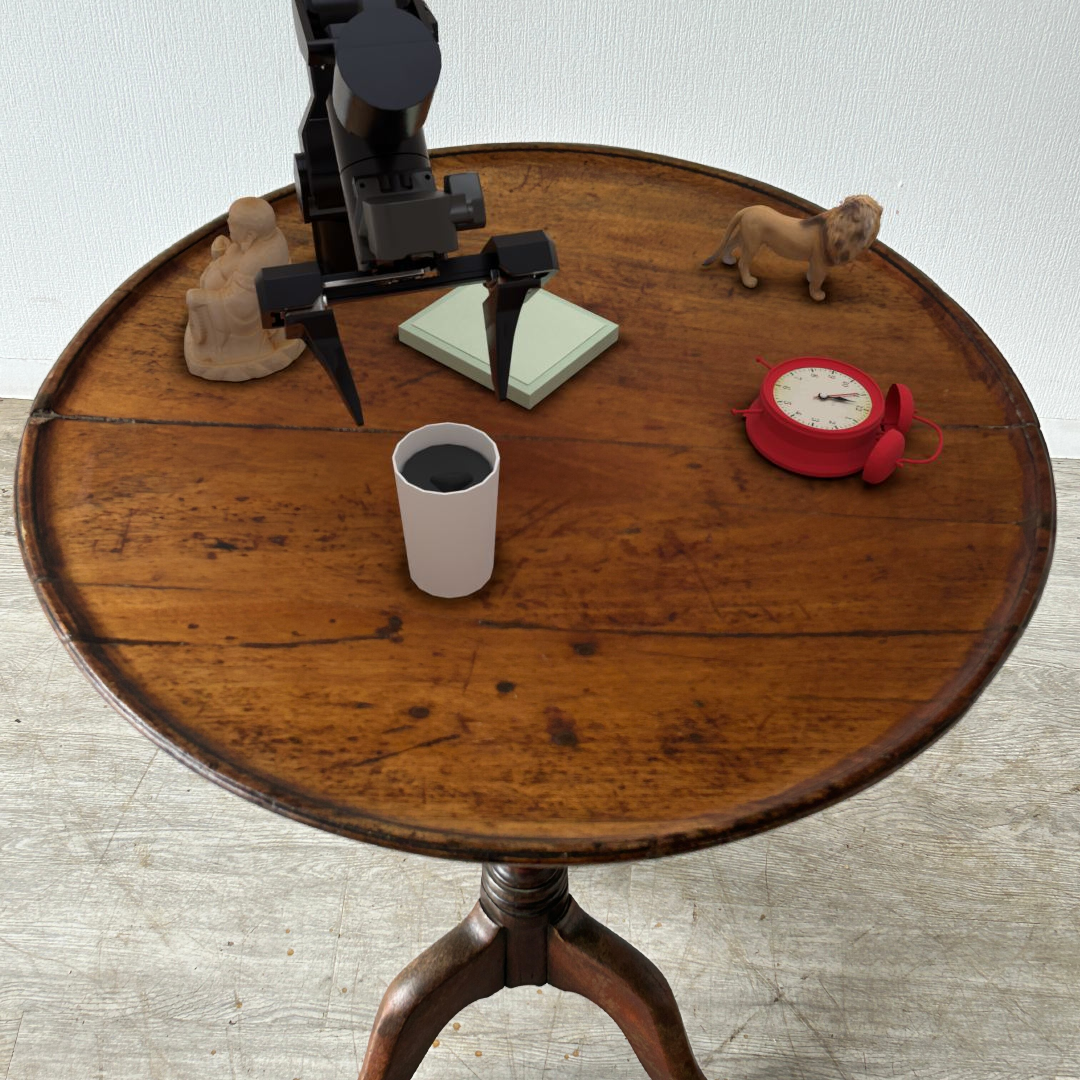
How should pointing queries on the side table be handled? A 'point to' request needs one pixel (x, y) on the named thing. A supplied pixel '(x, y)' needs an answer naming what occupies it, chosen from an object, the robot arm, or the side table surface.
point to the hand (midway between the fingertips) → (432, 413)
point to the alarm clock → (831, 420)
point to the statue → (238, 301)
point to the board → (538, 349)
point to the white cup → (448, 506)
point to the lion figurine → (803, 237)
